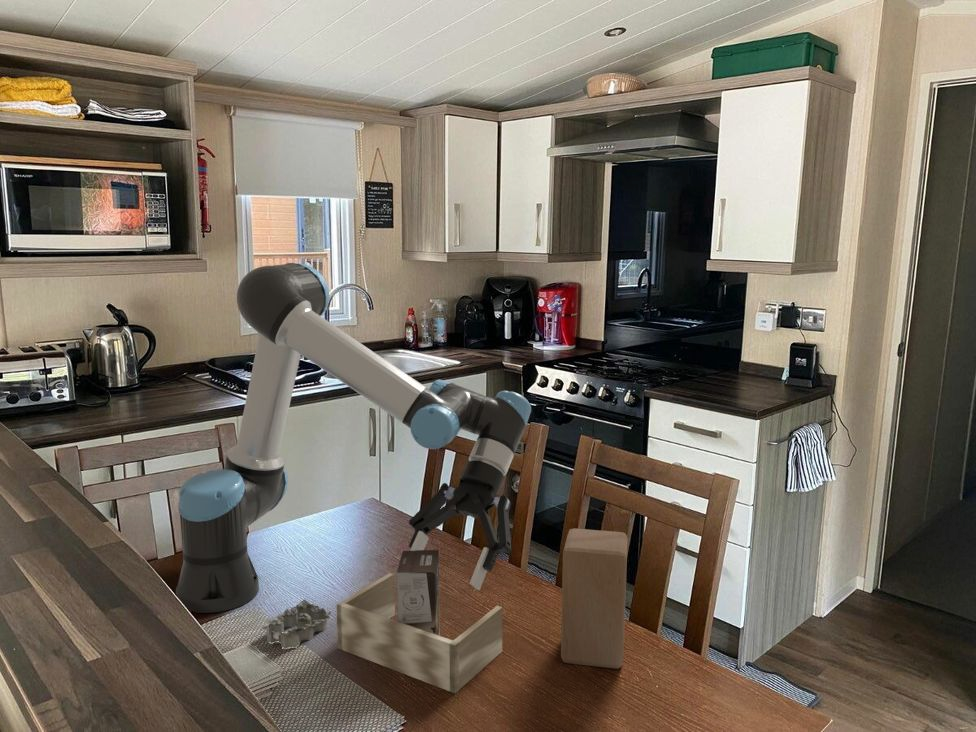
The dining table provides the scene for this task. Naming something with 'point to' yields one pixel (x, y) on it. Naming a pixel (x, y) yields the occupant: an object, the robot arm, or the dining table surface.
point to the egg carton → (291, 619)
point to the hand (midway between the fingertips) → (440, 577)
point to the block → (593, 598)
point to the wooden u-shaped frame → (414, 639)
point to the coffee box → (419, 590)
